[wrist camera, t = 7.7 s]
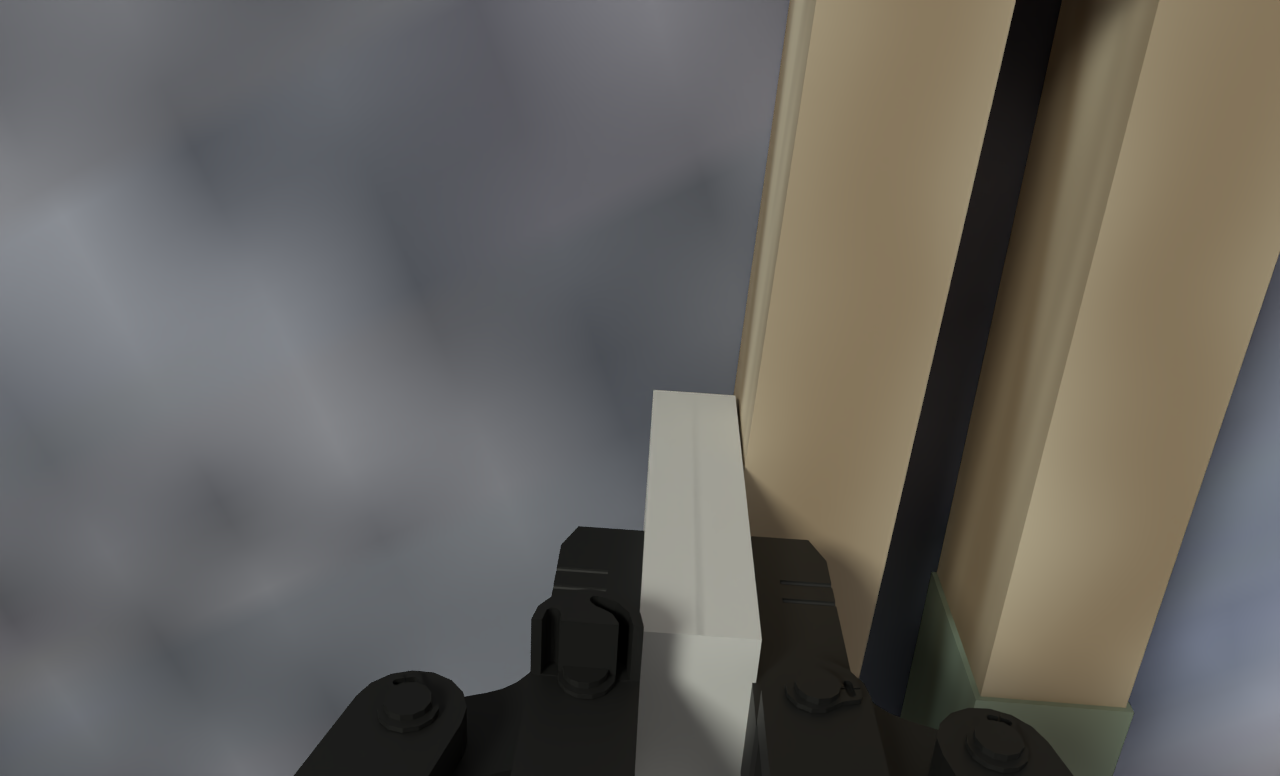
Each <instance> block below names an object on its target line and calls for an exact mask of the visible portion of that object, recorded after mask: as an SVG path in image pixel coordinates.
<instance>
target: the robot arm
mask: <svg viewBox="0 0 1280 776" xmlns="http://www.w3.org/2000/svg"><path fill="white" fill-rule="evenodd" d="M294 776H1073V774H1072V773H1071V772H1070V770H1069V769H1068V768H1067V766H1066V765H1065V764H1064V762H1063V761H1062V760H1061V758H1060V757H1059V756H1058V754H1057V753H1056V752H1055V750H1054V749H1053V748H1052V746H1051V745H1050V744H1049V742H1048V741H1047V740H1046V739H1045V738H1044V737H1043V736H1041V735H1040V734H1039V733H1038V732H1037V731H1036V730H1035V729H1034V728H1033V727H1032V726H1030V725H1028V724H1027V723H1025V722H1023V721H1021V720H1020V719H1018V718H1016V717H1014V716H1013V715H1010V714H1006V713H1003V712H999V711H996V710H993V709H986V708H966V709H963V710H959V711H956V712H952V713H950V714H949V715H948V716H947V717H946V718H945V719H944V720H943V721H942V722H941V723H940V725H939V729H938V730H937V729H934V728H931V727H928V726H924V725H921V724H918V723H915V722H911V721H908V720H905V719H903V718H900V717H898V716H895V715H893V714H890V713H889V712H887V711H885V710H884V709H882V708H880V707H878V706H877V705H875V704H874V703H873V702H872V699H871V696H870V694H869V692H868V690H867V689H866V687H865V685H864V683H863V682H862V681H861V680H860V679H859V678H857V677H856V676H855V675H854V674H853V673H852V672H851V670H850V666H849V661H848V657H847V652H846V648H845V643H844V639H843V634H842V629H841V625H840V620H839V616H838V611H837V607H836V606H835V598H834V593H833V588H831V579H830V575H829V570H828V566H827V561H826V560H825V559H824V558H823V556H822V555H821V554H820V553H819V552H818V551H817V550H816V548H815V547H814V546H813V545H812V544H811V543H810V542H809V540H800V539H785V538H771V537H757V536H750V527H749V517H748V508H747V499H746V490H745V480H744V471H743V462H742V453H741V444H740V434H739V425H738V416H737V407H736V398H735V396H734V395H720V394H705V393H691V392H677V391H662V390H653V405H652V419H651V433H650V447H649V462H648V476H647V490H646V504H645V518H644V531H638V530H623V529H609V528H595V527H580V526H579V527H578V528H577V529H576V530H575V531H574V532H573V533H572V534H571V535H570V536H569V537H568V538H567V539H566V540H565V541H564V542H563V543H562V545H561V549H560V554H559V559H558V565H557V571H556V575H555V580H554V588H553V591H552V596H551V597H550V598H549V599H547V600H546V601H545V602H543V603H542V604H540V605H539V606H538V608H537V609H536V611H535V613H534V615H533V617H532V619H531V671H530V673H529V674H527V675H526V676H525V677H523V678H522V679H521V680H519V681H518V682H516V683H514V684H512V685H510V686H508V687H506V688H503V689H500V690H496V691H492V692H488V693H484V694H478V695H472V696H466V697H464V694H463V692H462V691H461V690H460V689H459V688H458V687H457V685H456V684H455V683H454V682H453V681H452V680H450V679H447V678H445V677H443V676H440V675H438V674H436V673H432V672H422V671H407V672H401V673H394V674H390V675H388V676H385V677H383V678H381V679H379V680H376V681H374V682H372V683H370V684H369V685H368V686H367V687H366V688H365V689H364V690H362V691H361V692H360V693H359V694H358V695H357V696H356V697H355V698H354V699H353V701H352V702H351V703H350V705H349V706H348V707H347V708H346V710H345V711H344V712H343V713H342V715H341V716H340V717H339V719H338V720H337V721H336V722H335V724H334V725H333V726H332V728H331V729H330V730H329V731H328V733H327V734H326V735H325V736H324V738H323V739H322V740H321V742H320V743H319V744H318V745H317V747H316V748H315V749H314V751H313V752H312V753H311V754H310V756H309V757H308V758H307V759H306V761H305V762H304V763H303V765H302V766H301V767H300V768H299V770H298V771H297V772H296V773H295V775H294Z"/></svg>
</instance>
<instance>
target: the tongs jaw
mask: <svg viewBox="0 0 1280 776" xmlns="http://www.w3.org/2000/svg"><path fill="white" fill-rule="evenodd" d="M1015 2H1016V0H790V3H789V10H788V17H787V24H786V31H785V38H784V45H783V52H782V59H781V66H780V73H779V80H778V87H777V94H776V101H775V108H774V115H773V122H772V129H771V136H770V143H769V150H768V157H767V164H766V171H765V178H764V185H763V192H762V199H761V206H760V213H759V220H758V228H757V235H756V242H755V249H754V256H753V263H752V270H751V277H750V284H749V291H748V298H747V305H746V312H745V319H744V326H743V333H742V340H741V347H740V354H739V361H738V368H737V375H736V382H735V389H734V396H735V398H736V407H737V416H738V425H739V434H740V444H741V453H742V462H743V471H744V480H745V490H746V499H747V508H748V517H749V527H750V536H757V537H771V538H785V539H800V540H809V542H810V543H811V544H812V545H813V546H814V547H815V548H816V550H817V551H818V552H819V553H820V554H821V555H822V556H823V558H824V559H825V560H826V561H827V566H828V570H829V575H830V579H831V588H833V593H834V598H835V606H836V607H837V611H838V616H839V620H840V625H841V629H842V634H843V639H844V643H845V648H846V652H847V657H848V661H849V666H850V670H851V672H852V673H853V674H854V675H855V676H856V677H857V678H859V676H860V671H861V667H862V663H863V658H864V654H865V650H866V645H867V641H868V637H869V632H870V628H871V624H872V619H873V615H874V611H875V606H876V602H877V598H878V593H879V589H880V585H881V581H882V576H883V572H884V568H885V563H886V559H887V555H888V550H889V546H890V542H891V537H892V533H893V529H894V524H895V520H896V516H897V511H898V507H899V503H900V498H901V494H902V490H903V486H904V481H905V477H906V473H907V468H908V464H909V460H910V455H911V451H912V447H913V442H914V438H915V434H916V429H917V425H918V421H919V416H920V412H921V408H922V403H923V399H924V395H925V391H926V386H927V382H928V378H929V373H930V369H931V365H932V360H933V356H934V352H935V347H936V343H937V339H938V334H939V330H940V326H941V321H942V317H943V313H944V308H945V304H946V300H947V296H948V291H949V287H950V283H951V278H952V274H953V270H954V265H955V261H956V257H957V252H958V248H959V244H960V239H961V235H962V231H963V226H964V222H965V218H966V213H967V209H968V205H969V201H970V196H971V192H972V188H973V183H974V179H975V175H976V170H977V166H978V162H979V157H980V153H981V149H982V144H983V140H984V136H985V131H986V127H987V123H988V118H989V114H990V110H991V106H992V101H993V97H994V93H995V88H996V84H997V80H998V75H999V71H1000V67H1001V62H1002V58H1003V54H1004V49H1005V45H1006V41H1007V36H1008V32H1009V28H1010V23H1011V19H1012V15H1013V11H1014V6H1015Z"/></svg>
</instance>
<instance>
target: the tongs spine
mask: <svg viewBox="0 0 1280 776" xmlns="http://www.w3.org/2000/svg"><path fill="white" fill-rule="evenodd" d="M1279 252H1280V0H1062V3H1061V7H1060V12H1059V16H1058V21H1057V25H1056V30H1055V35H1054V39H1053V44H1052V48H1051V53H1050V57H1049V62H1048V67H1047V71H1046V76H1045V80H1044V85H1043V89H1042V94H1041V99H1040V103H1039V108H1038V112H1037V117H1036V121H1035V126H1034V131H1033V135H1032V140H1031V144H1030V149H1029V153H1028V158H1027V163H1026V167H1025V172H1024V176H1023V181H1022V185H1021V190H1020V195H1019V199H1018V204H1017V208H1016V213H1015V217H1014V222H1013V227H1012V231H1011V236H1010V240H1009V245H1008V249H1007V254H1006V259H1005V263H1004V268H1003V272H1002V277H1001V281H1000V286H999V291H998V295H997V300H996V304H995V309H994V313H993V318H992V323H991V327H990V332H989V336H988V341H987V345H986V350H985V355H984V359H983V364H982V368H981V373H980V377H979V382H978V387H977V391H976V396H975V400H974V405H973V409H972V414H971V419H970V423H969V428H968V432H967V437H966V441H965V446H964V451H963V455H962V460H961V464H960V469H959V473H958V478H957V483H956V487H955V492H954V496H953V501H952V505H951V510H950V515H949V519H948V524H947V528H946V533H945V537H944V542H943V547H942V551H941V556H940V560H939V565H938V569H937V572H932V573H931V578H930V582H929V587H928V592H927V596H926V601H925V605H924V610H923V615H922V619H921V624H920V629H919V633H918V638H917V642H916V647H915V652H914V656H913V661H912V666H911V670H910V675H909V680H908V684H907V689H906V693H905V698H904V703H903V707H902V712H901V717H900V718H903V719H905V720H908V721H911V722H915V723H918V724H921V725H924V726H928V727H931V728H934V729H937V730H938V729H939V725H940V723H941V722H942V721H943V720H944V719H945V718H946V717H947V716H948V715H949V714H950V713H952V712H956V711H959V710H963V709H966V708H986V709H993V710H996V711H999V712H1003V713H1006V714H1010V715H1013V716H1014V717H1016V718H1018V719H1020V720H1021V721H1023V722H1025V723H1027V724H1028V725H1030V726H1032V727H1033V728H1034V729H1035V730H1036V731H1037V732H1038V733H1039V734H1040V735H1041V736H1043V737H1044V738H1045V739H1046V740H1047V741H1048V742H1049V744H1050V745H1051V746H1052V748H1053V749H1054V750H1055V752H1056V753H1057V754H1058V756H1059V757H1060V758H1061V760H1062V761H1063V762H1064V764H1065V765H1066V766H1067V768H1068V769H1069V770H1070V772H1071V773H1072V774H1073V776H1113V773H1114V770H1115V767H1116V764H1117V761H1118V758H1119V755H1120V752H1121V750H1122V747H1123V744H1124V741H1125V738H1126V735H1127V732H1128V729H1129V726H1130V723H1131V720H1132V717H1133V715H1134V711H1133V709H1132V708H1131V706H1130V704H1129V702H1128V700H1129V697H1130V694H1131V691H1132V688H1133V685H1134V682H1135V679H1136V676H1137V673H1138V670H1139V667H1140V664H1141V661H1142V658H1143V655H1144V652H1145V650H1146V647H1147V644H1148V641H1149V638H1150V635H1151V632H1152V629H1153V626H1154V623H1155V620H1156V617H1157V614H1158V611H1159V608H1160V605H1161V602H1162V599H1163V596H1164V593H1165V590H1166V587H1167V584H1168V581H1169V578H1170V575H1171V572H1172V569H1173V567H1174V564H1175V561H1176V558H1177V555H1178V552H1179V549H1180V546H1181V543H1182V540H1183V537H1184V534H1185V531H1186V528H1187V525H1188V522H1189V519H1190V516H1191V513H1192V510H1193V507H1194V504H1195V501H1196V498H1197V495H1198V492H1199V489H1200V487H1201V484H1202V481H1203V478H1204V475H1205V472H1206V469H1207V466H1208V463H1209V460H1210V457H1211V454H1212V451H1213V448H1214V445H1215V442H1216V439H1217V436H1218V433H1219V430H1220V427H1221V424H1222V421H1223V418H1224V415H1225V412H1226V409H1227V407H1228V404H1229V401H1230V398H1231V395H1232V392H1233V389H1234V386H1235V383H1236V380H1237V377H1238V374H1239V371H1240V368H1241V365H1242V362H1243V359H1244V356H1245V353H1246V350H1247V347H1248V344H1249V341H1250V338H1251V335H1252V332H1253V329H1254V327H1255V324H1256V321H1257V318H1258V315H1259V312H1260V309H1261V306H1262V303H1263V300H1264V297H1265V294H1266V291H1267V288H1268V285H1269V282H1270V279H1271V276H1272V273H1273V270H1274V267H1275V264H1276V261H1277V258H1278V255H1279Z"/></svg>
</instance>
